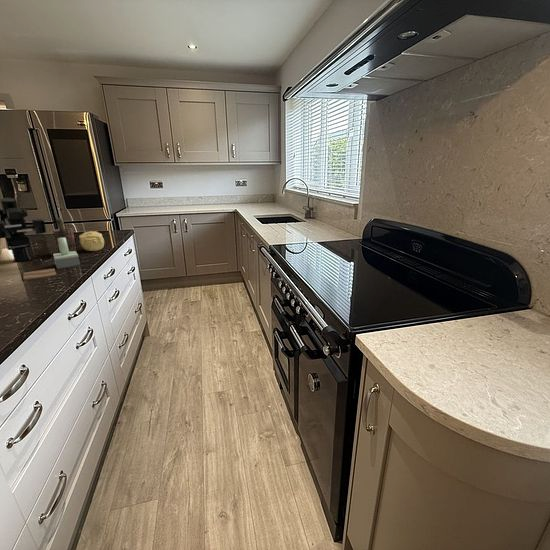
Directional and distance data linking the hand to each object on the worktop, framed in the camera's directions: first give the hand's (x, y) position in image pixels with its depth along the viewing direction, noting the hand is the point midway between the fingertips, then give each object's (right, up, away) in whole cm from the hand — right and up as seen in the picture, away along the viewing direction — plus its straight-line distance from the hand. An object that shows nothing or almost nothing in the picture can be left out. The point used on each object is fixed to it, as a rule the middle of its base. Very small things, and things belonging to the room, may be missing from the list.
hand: (24, 234), depth 130 cm
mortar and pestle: (-2, -6, +32) cm, 33 cm away
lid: (+10, -9, +11) cm, 18 cm away
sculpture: (+6, -3, +41) cm, 41 cm away
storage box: (+10, -13, +12) cm, 21 cm away
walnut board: (+7, -17, -1) cm, 19 cm away
